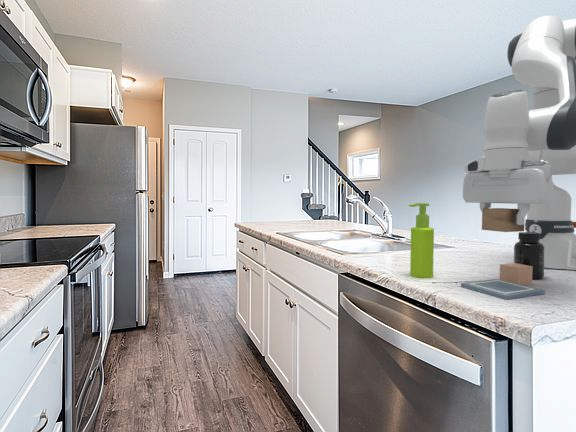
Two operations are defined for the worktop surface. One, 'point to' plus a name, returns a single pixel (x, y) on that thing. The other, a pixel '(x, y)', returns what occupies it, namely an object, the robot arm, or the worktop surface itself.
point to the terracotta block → (516, 273)
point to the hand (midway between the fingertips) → (502, 223)
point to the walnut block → (500, 220)
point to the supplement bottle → (530, 253)
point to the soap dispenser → (422, 245)
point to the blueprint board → (502, 289)
